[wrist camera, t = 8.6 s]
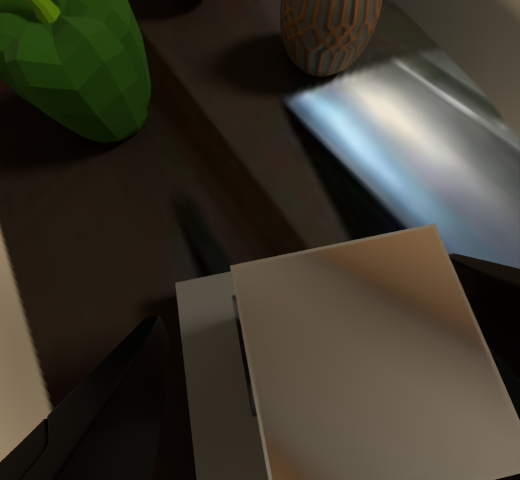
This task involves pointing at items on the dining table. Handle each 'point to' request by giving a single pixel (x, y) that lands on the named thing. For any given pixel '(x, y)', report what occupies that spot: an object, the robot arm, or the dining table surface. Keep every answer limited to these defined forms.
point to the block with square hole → (218, 382)
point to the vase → (327, 32)
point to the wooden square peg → (373, 365)
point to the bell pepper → (77, 63)
